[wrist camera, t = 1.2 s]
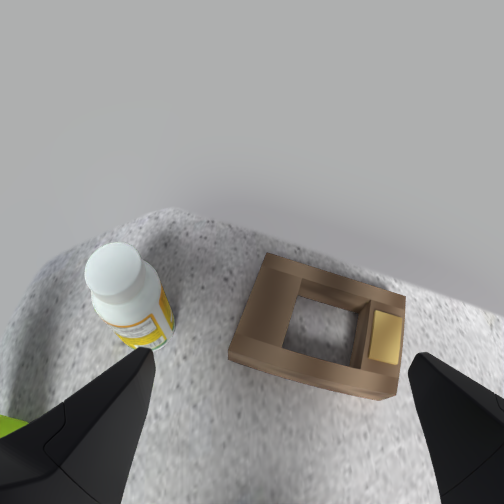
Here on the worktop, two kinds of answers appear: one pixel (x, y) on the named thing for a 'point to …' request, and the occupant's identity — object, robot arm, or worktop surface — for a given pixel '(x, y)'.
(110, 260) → the supplement bottle
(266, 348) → the socket block
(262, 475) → the worktop surface
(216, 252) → the worktop surface
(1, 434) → the soap dispenser
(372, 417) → the worktop surface
